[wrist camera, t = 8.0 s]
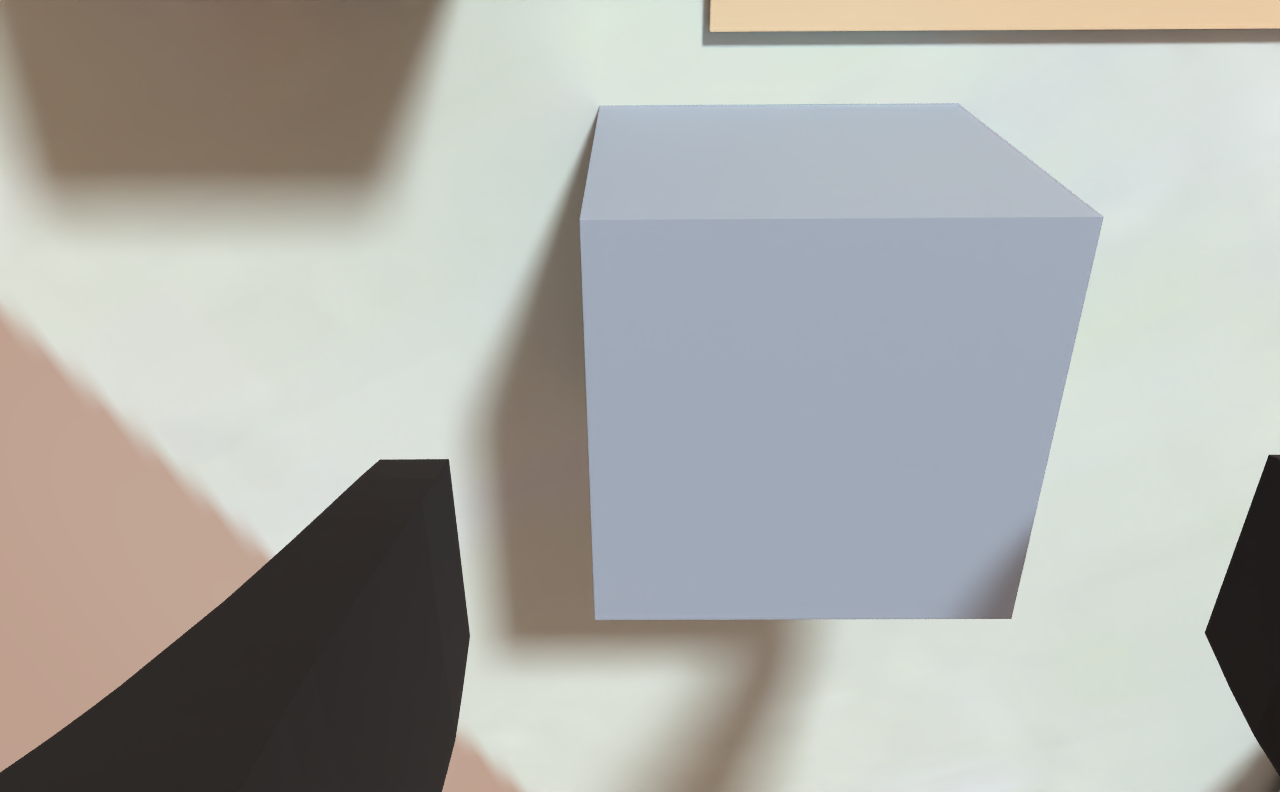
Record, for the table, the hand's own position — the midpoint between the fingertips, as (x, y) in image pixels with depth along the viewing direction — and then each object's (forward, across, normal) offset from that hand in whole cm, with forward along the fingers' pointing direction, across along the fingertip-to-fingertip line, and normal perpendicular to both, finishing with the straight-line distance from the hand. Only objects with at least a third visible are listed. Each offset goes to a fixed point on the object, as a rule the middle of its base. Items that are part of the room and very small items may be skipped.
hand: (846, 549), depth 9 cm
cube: (+7, 0, 0) cm, 7 cm away
